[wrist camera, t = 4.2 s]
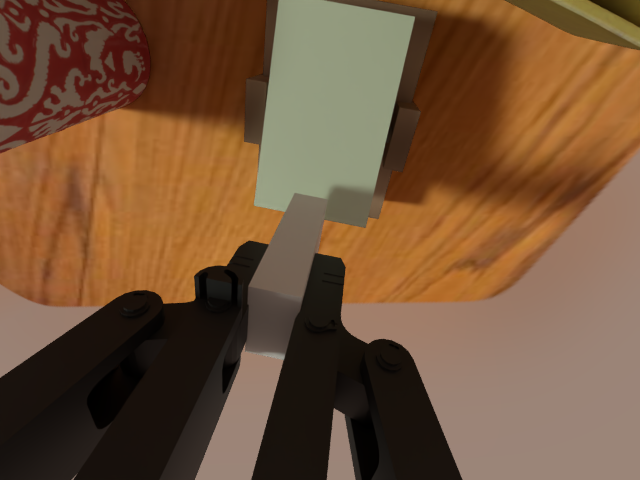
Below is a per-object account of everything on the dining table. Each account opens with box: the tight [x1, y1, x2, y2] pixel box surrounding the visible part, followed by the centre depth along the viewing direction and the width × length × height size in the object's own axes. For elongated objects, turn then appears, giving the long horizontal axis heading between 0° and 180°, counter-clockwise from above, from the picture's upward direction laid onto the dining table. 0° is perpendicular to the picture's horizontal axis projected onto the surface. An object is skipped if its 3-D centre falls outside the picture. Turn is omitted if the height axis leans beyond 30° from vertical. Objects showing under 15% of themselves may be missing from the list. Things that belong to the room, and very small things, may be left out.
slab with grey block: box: [244, 0, 437, 219], centre depth 18 cm, size 11×8×5 cm
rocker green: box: [254, 0, 415, 228], centre depth 15 cm, size 9×6×2 cm, turn 171°
